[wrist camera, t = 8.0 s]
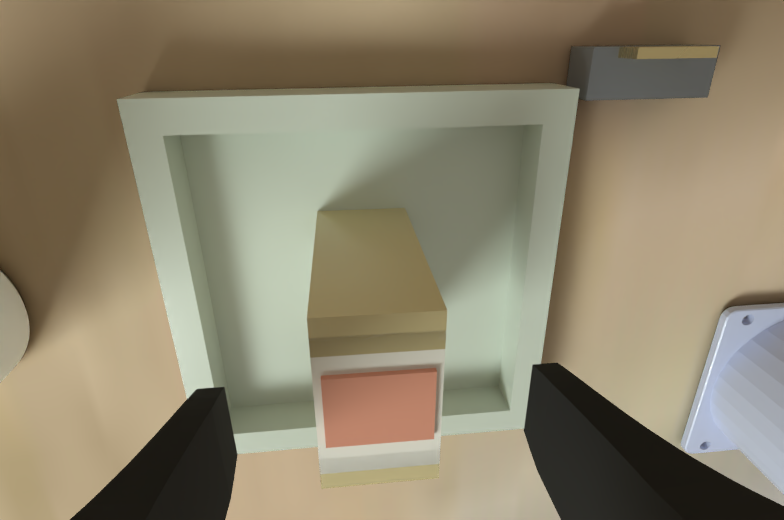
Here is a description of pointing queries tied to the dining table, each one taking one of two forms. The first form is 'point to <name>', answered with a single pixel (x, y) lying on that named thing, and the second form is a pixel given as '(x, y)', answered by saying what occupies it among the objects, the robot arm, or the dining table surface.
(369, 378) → the carton
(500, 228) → the tray
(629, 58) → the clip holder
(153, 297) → the dining table surface
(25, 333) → the can
